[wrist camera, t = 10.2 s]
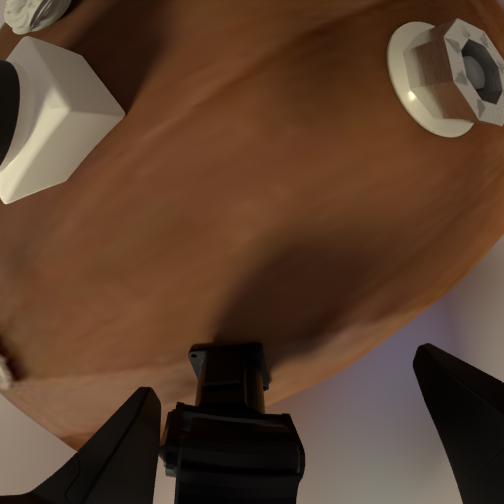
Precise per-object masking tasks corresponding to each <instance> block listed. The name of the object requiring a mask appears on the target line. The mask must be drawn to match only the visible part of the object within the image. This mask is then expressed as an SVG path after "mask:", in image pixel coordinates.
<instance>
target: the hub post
mask: <svg viewBox="0 0 504 504" xmlns="http://www.w3.org/2000/svg"><path fill="white" fill-rule="evenodd" d="M433 27H435V26H433V25H431V24H428V23H424V22H410V23H406V24H405V25H403V26H401V27H399V28H398V29H396V30H395V31H394V32H393V34H392V35H391V37H390V39H389V42H388V45H387V52H386V61H387V69H388V73H389V77H390V80H391V83H392V86H393V88H394V90H395V93H396V95H397V97H398V98H399V100H400V102H401V104H402V105H403V107H404V108H405V110H406V111H407V112H408V113H409V115H410V116H411V117H412V118H413V119H414V120H415V121H416V122H417V123H418V124H419V125H420V126H421V127H423V128H424V129H426V130H427V131H429V132H431V133H433V134H436V135H438V136H443V137H457V136H461V135H463V134H464V133H466V132H467V131H468V130H469V129H470V128H471V127H472V125H473V124H474V123H463V122H454V121H448V120H441V119H434V118H433V117H432V115H431V114H430V113H429V112H428V110H427V109H426V108H425V107H424V105H423V104H422V103H421V102H420V100H419V99H418V98H417V97H416V96H415V94H414V93H413V92H412V91H411V90H410V88H409V82H408V76H407V70H406V65H405V60H404V56H403V51H404V50H405V49H406V48H407V47H408V45H409V44H410V43H411V42H412V41H413V40H414V38H415V37H416V36H417V35H418V34H419V33H421V32H424V31H426V30H428V29H431V28H433ZM463 62H464V66H465V71H466V76H467V78H468V80H469V81H470V83H471V84H472V86H473V87H474V89H481V88H483V87H484V84H485V76H484V72H483V70H482V68H481V66H480V64H479V63H478V61H477V60H476V59H474V58H473V57H471V56H466V57H463Z"/></svg>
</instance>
